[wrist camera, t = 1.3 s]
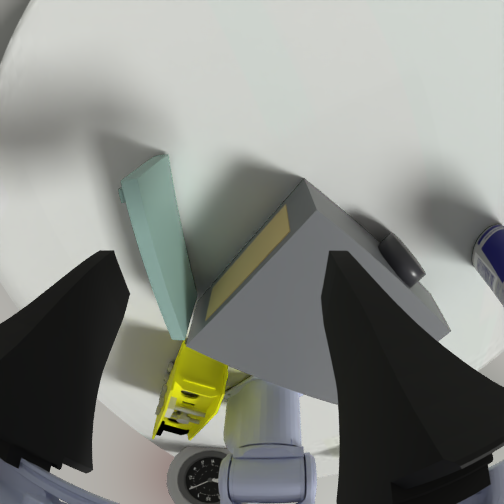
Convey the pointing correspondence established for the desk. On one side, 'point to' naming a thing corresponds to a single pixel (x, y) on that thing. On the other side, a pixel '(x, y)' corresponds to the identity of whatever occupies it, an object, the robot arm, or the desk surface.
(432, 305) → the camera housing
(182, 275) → the side door
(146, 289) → the desk surface
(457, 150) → the desk surface
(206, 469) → the alarm clock
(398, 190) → the desk surface
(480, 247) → the energy drink
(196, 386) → the yellow toy chassis
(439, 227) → the desk surface
